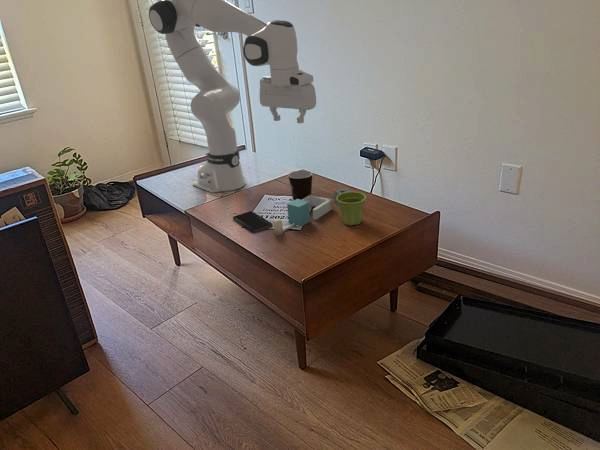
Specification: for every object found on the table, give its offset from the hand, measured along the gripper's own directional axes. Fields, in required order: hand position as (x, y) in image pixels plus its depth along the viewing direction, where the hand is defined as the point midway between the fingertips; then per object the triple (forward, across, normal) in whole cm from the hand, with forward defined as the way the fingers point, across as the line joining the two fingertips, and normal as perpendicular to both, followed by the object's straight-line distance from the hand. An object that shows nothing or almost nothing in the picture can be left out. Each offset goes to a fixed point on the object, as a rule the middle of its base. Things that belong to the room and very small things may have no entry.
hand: (288, 121), depth 156 cm
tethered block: (+31, +7, -12) cm, 34 cm away
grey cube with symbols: (+31, +12, +12) cm, 36 cm away
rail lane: (+31, +6, +2) cm, 32 cm away
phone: (+32, -7, -15) cm, 36 cm away
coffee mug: (+31, -4, +10) cm, 33 cm away
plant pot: (+31, +22, +1) cm, 38 cm away
